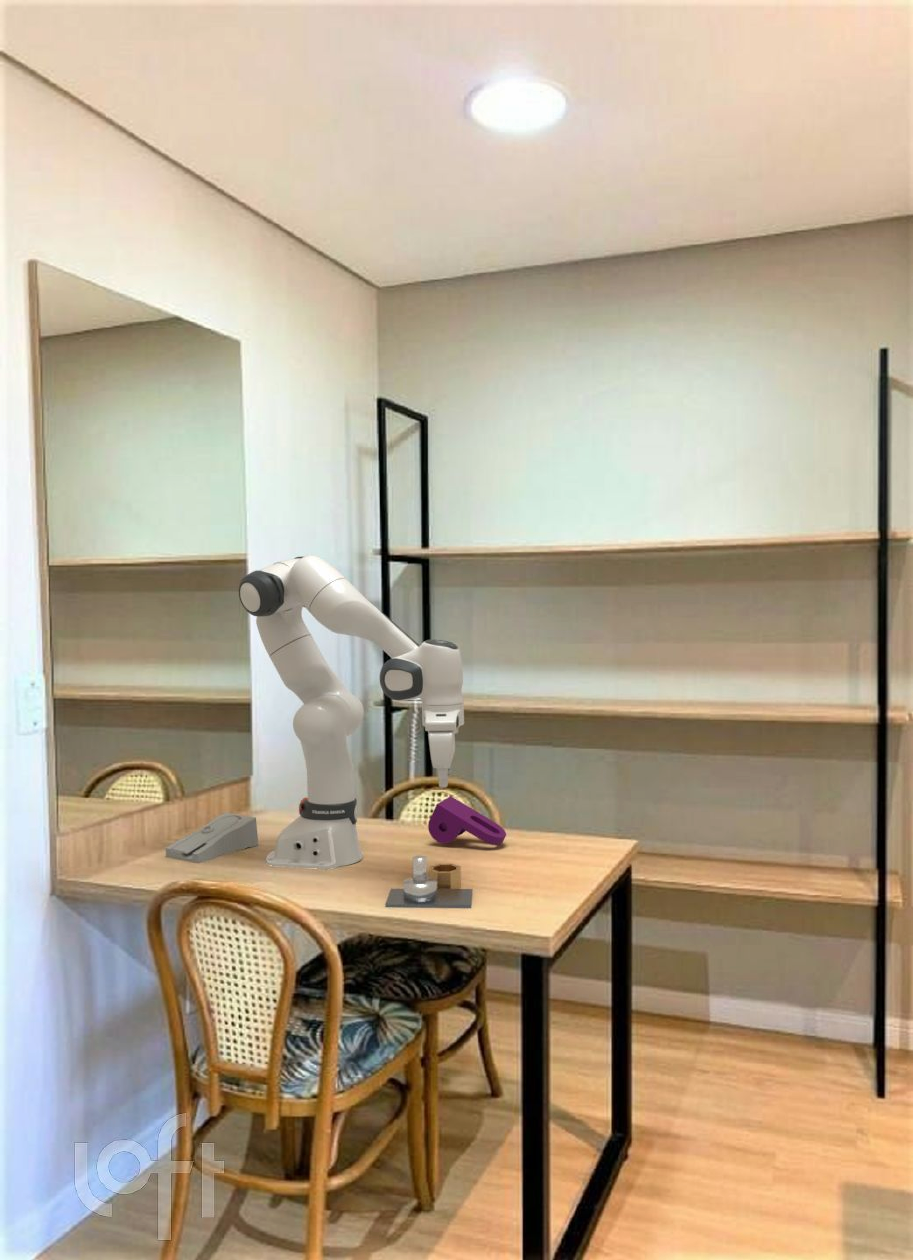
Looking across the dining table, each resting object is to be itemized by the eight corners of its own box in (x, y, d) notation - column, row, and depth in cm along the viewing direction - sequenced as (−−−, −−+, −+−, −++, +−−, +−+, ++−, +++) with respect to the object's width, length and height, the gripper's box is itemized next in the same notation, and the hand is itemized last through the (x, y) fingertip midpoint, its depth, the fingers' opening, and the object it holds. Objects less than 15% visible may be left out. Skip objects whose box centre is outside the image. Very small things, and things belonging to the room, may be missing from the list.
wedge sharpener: (258, 844, 244) (257, 816, 244) (197, 864, 227) (197, 834, 227) (227, 838, 250) (226, 812, 250) (165, 857, 233) (165, 829, 233)
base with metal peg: (385, 909, 194) (384, 864, 193) (391, 893, 204) (390, 850, 203) (471, 909, 193) (470, 864, 192) (472, 893, 203) (472, 850, 202)
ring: (428, 891, 204) (428, 872, 204) (430, 881, 211) (430, 863, 211) (459, 891, 204) (459, 872, 204) (461, 881, 211) (461, 863, 210)
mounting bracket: (497, 860, 247) (437, 823, 252) (511, 832, 245) (450, 795, 250) (484, 870, 238) (423, 832, 243) (498, 841, 236) (436, 803, 242)
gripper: (431, 710, 216) (433, 772, 217) (424, 723, 196) (426, 792, 196) (460, 710, 216) (461, 772, 217) (455, 723, 196) (457, 791, 196)
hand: (444, 782), depth 206 cm, fingers open, 8 cm apart
